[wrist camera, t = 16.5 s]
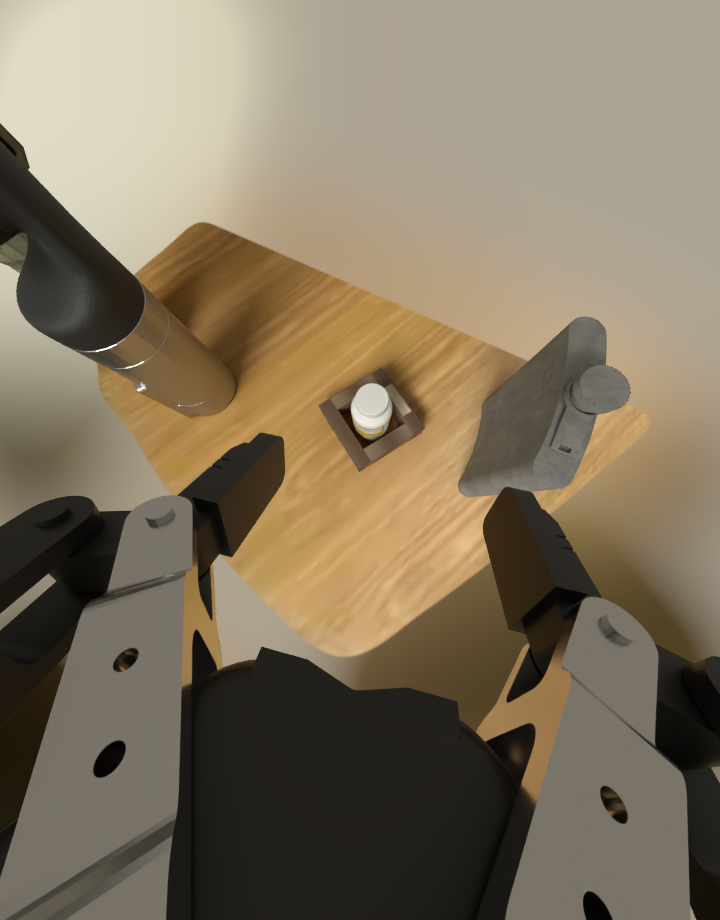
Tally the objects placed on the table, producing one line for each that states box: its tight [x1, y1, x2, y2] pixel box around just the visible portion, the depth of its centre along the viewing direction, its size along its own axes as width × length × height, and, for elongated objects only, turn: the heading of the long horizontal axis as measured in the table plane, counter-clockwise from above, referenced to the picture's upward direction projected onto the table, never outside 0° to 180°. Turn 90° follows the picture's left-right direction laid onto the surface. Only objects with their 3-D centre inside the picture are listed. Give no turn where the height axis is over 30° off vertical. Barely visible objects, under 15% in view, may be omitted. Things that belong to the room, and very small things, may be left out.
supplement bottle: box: [351, 383, 393, 441], centre depth 35 cm, size 5×5×10 cm
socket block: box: [319, 367, 425, 472], centre depth 38 cm, size 11×11×3 cm
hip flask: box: [458, 317, 631, 497], centre depth 29 cm, size 16×4×20 cm, turn 160°
